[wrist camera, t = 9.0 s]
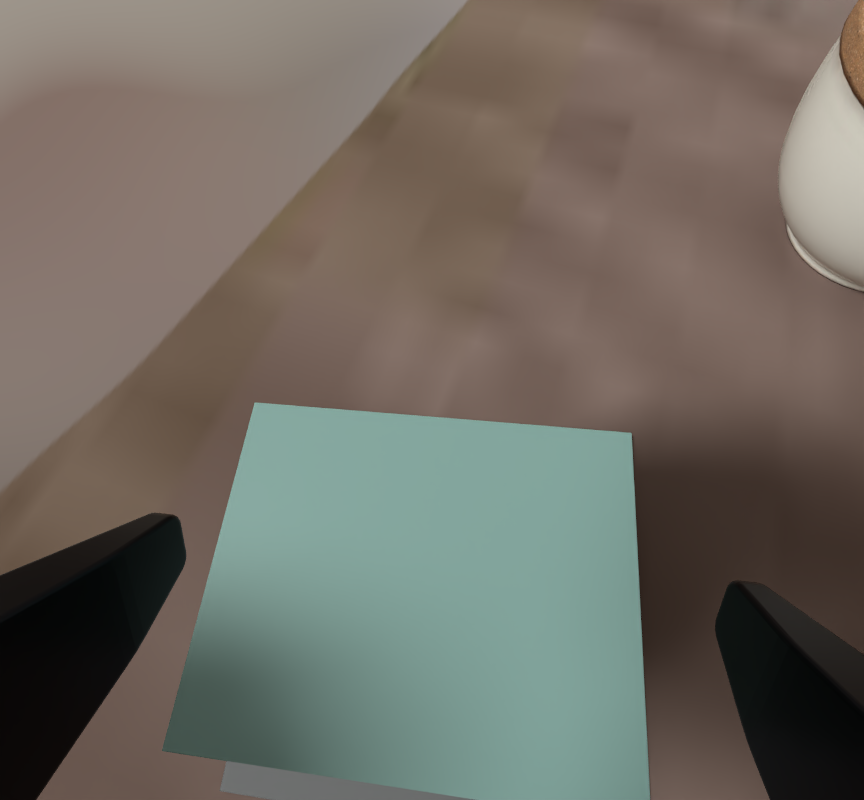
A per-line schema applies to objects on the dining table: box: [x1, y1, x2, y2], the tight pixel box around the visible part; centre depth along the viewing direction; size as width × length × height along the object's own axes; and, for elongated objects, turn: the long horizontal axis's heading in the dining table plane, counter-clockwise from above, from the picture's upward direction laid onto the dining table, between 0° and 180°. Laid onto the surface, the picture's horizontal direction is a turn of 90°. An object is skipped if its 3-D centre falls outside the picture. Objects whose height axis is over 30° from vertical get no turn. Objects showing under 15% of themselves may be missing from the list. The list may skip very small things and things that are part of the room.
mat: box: [220, 761, 475, 800], centre depth 16 cm, size 12×12×1 cm
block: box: [162, 403, 650, 800], centre depth 11 cm, size 4×5×11 cm
